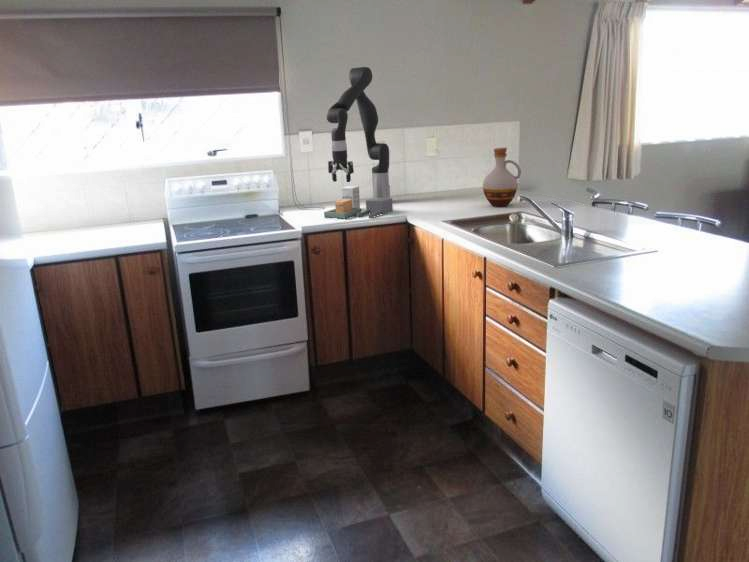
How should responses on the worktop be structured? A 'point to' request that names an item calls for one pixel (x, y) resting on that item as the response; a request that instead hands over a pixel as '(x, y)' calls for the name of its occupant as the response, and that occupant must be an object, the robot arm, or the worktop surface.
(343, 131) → the robot arm
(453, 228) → the worktop surface
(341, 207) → the toner caddy
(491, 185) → the jug
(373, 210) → the printer bay
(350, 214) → the tray
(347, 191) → the supplement box
